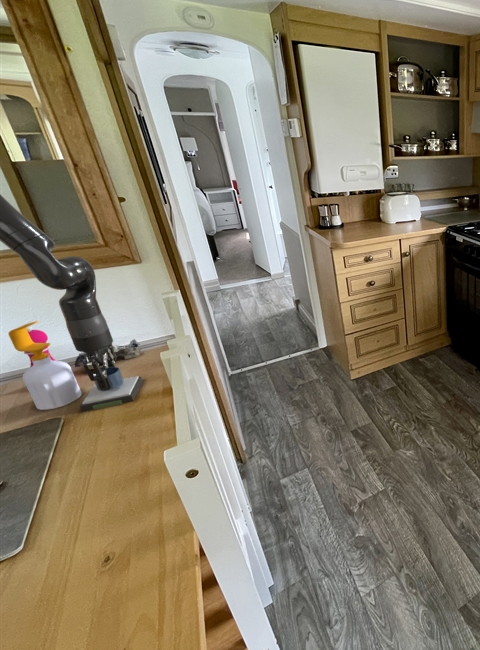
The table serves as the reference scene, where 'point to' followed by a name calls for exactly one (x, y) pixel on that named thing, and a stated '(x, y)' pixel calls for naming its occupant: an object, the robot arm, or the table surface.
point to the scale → (112, 395)
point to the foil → (128, 351)
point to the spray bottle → (45, 373)
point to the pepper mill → (38, 341)
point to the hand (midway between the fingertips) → (109, 383)
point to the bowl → (112, 378)
